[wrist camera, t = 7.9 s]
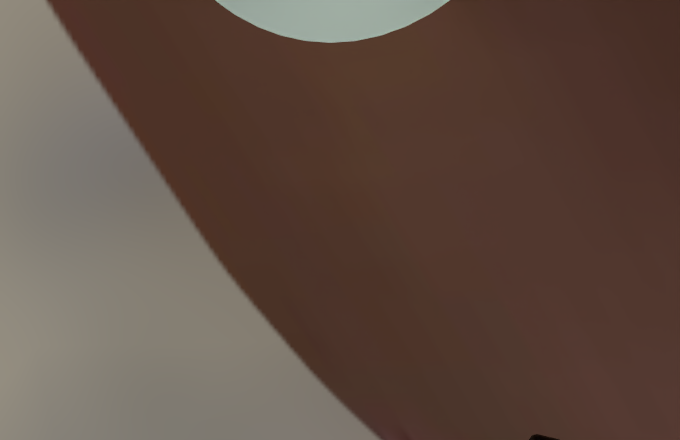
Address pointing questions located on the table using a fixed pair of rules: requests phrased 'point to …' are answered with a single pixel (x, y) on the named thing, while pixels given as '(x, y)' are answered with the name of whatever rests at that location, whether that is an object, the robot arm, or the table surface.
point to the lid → (331, 17)
